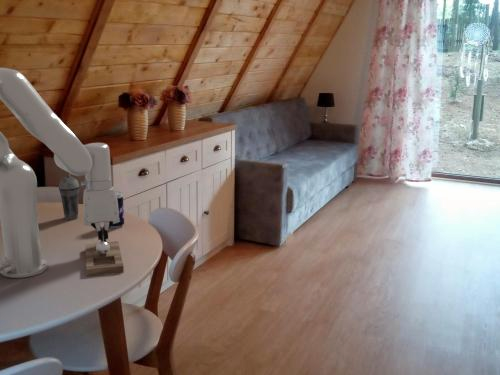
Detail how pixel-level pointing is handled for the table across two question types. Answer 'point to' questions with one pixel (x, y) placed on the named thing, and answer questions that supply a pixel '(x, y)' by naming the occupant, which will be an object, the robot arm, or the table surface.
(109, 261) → the slotted wooden board
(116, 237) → the table surface
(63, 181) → the beverage cup
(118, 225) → the beverage can
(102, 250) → the steel ball
